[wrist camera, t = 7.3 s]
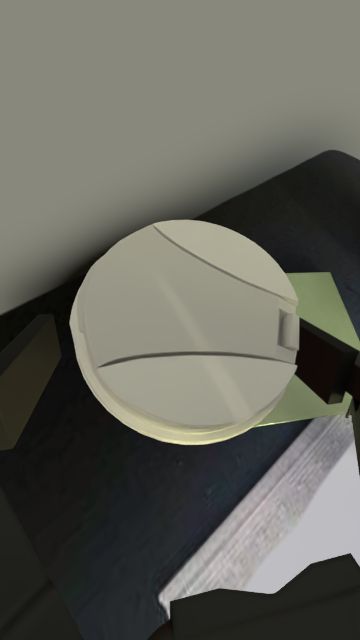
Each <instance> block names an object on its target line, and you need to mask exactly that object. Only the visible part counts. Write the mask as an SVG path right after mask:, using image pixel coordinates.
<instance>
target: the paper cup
mask: <svg viewBox="0 0 360 640" xmlns="http://www.w3.org/2000/svg"><path fill="white" fill-rule="evenodd" d="M298 301H299V300H298V298H297V295H296V293H295V290H294V288H293V286H292V284H291V283H290V281H289V279H288V277H287V276H286V274H285V273H284V272H283V270H282V269H281V268H280V266H279V265H278V264H277V263H276V261H275V260H274V259H273V258H272V257H271V256H270V255H269V254H268V253H267V252H265V251H264V250H263V249H262V248H261V247H259V246H258V245H257V244H256V243H254V242H252V241H251V240H249V239H248V238H246V237H245V236H243V235H241V234H239V233H237V232H235V231H233V230H230V229H228V228H225V227H222V226H219V225H216V224H212V223H207V222H203V221H194V220H171V221H164V222H158V223H154V224H153V225H149V226H147V227H145V228H143V229H141V230H139V231H137V232H135V233H133V234H131V235H129V236H128V237H126V238H124V239H122V240H120V241H119V242H118V243H117V244H116V245H114V246H113V247H112V248H111V249H110V250H109V251H108V252H107V253H106V254H105V255H104V256H103V257H101V258H100V259H99V260H98V261H97V262H95V264H94V265H93V266H92V267H91V268H90V270H89V272H88V273H87V275H86V277H85V279H84V281H83V283H82V285H81V287H80V289H79V290H78V293H77V296H76V298H75V301H74V304H73V307H72V312H71V317H70V327H71V331H72V336H73V340H74V345H75V351H76V356H77V361H78V363H79V366H80V369H81V371H82V374H83V377H84V379H85V380H86V382H87V384H88V385H89V387H90V389H91V391H92V392H93V394H94V395H95V397H96V398H97V399H98V400H99V401H100V402H101V404H102V405H103V406H104V407H105V408H106V409H107V410H108V411H109V412H110V413H111V414H112V415H114V416H115V417H116V418H117V419H119V420H120V421H121V422H122V423H123V424H125V425H127V426H129V427H130V428H132V429H134V430H136V431H137V432H139V433H141V434H143V435H146V436H149V437H152V438H154V439H157V440H160V441H163V442H169V443H176V444H182V445H202V444H210V443H215V442H219V441H224V440H227V439H230V438H232V437H235V436H237V435H239V434H242V433H244V432H246V431H247V430H249V429H250V428H252V427H253V426H255V425H256V424H258V423H259V422H260V421H262V420H263V419H264V418H265V417H266V416H267V415H268V414H269V413H270V412H271V411H272V410H273V409H274V407H275V406H276V405H277V403H278V402H279V400H280V399H281V398H282V396H283V394H284V392H285V390H286V388H287V386H288V384H289V383H290V381H291V379H292V377H293V375H294V373H295V371H296V369H297V365H295V359H296V354H297V350H299V316H297V315H296V306H297V305H298V304H299V302H298Z"/></svg>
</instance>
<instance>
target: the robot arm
mask: <svg viewBox="0 0 360 640" xmlns="http://www.w3.org/2000/svg"><path fill="white" fill-rule="evenodd" d="M60 358H61V351H60V346H59V341H58V337H57V332H56V327H55V322H54V317H53V314H45V315H38V316H37V317H36V318H35V319H34V320H33V321H32V322H31V323H30V324H29V325H28V326H27V327H26V328H25V329H24V330H23V331H22V332H21V333H20V334H19V335H18V336H17V337H16V338H15V339H14V340H13V341H12V342H11V343H10V344H9V345H8V346H7V347H6V348H5V349H4V350H3V351H2V352H1V353H0V450H7V449H13V448H14V446H15V444H16V442H17V440H18V438H19V436H20V434H21V432H22V430H23V428H24V427H25V425H26V423H27V421H28V419H29V417H30V415H31V413H32V411H33V409H34V407H35V406H36V404H37V402H38V400H39V398H40V396H41V394H42V392H43V390H44V388H45V386H46V385H47V383H48V381H49V379H50V377H51V375H52V373H53V371H54V369H55V367H56V365H57V364H58V362H59V360H60ZM295 365H297V369H296V371H295V373H294V374H295V375H296V376H297V377H298V378H299V379H300V380H301V381H302V382H303V383H305V384H306V385H307V386H308V387H309V388H310V389H311V390H312V391H313V392H314V393H315V394H316V395H317V396H319V397H320V398H321V399H322V400H323V401H324V402H325V403H326V404H327V405H330V404H337V403H342V401H343V398H344V395H345V392H347V393H348V394H350V395H351V396H352V399H351V402H350V405H349V408H348V411H347V414H346V418H349V415H351V416H352V423H353V430H354V438H355V445H356V452H357V460H358V466H359V474H360V351H359V350H357V349H355V348H354V347H352V346H350V345H348V344H346V343H345V342H343V341H341V340H339V339H338V338H336V337H334V336H332V335H330V334H329V333H327V332H325V331H323V330H322V329H320V328H318V327H316V326H314V325H313V324H311V323H309V322H307V321H306V320H304V319H302V318H300V317H299V350H297V354H296V359H295ZM0 640H84V639H83V637H82V635H81V634H80V632H79V630H78V628H77V626H76V624H75V622H74V620H73V618H72V617H71V615H70V613H69V611H68V609H67V607H66V605H65V603H64V601H63V599H62V598H61V596H60V594H59V592H58V590H57V588H56V587H55V585H54V584H53V582H52V581H50V579H49V578H48V576H47V574H46V572H45V570H44V568H43V567H42V565H41V563H40V561H39V559H38V557H37V555H36V553H35V551H34V549H33V547H32V545H31V543H30V541H29V540H28V538H27V536H26V534H25V532H24V530H23V528H22V526H21V524H20V522H19V520H18V518H17V516H16V515H15V513H14V511H13V509H12V507H11V505H10V503H9V501H8V499H7V497H6V495H5V493H4V491H3V489H2V488H1V486H0ZM147 640H360V567H359V565H358V564H357V562H356V561H355V559H354V558H353V556H352V555H351V553H350V554H346V555H342V556H338V557H335V558H331V559H327V560H324V561H320V562H316V563H312V564H310V565H309V566H308V567H307V568H306V569H304V570H303V571H302V572H301V573H299V574H298V575H297V576H296V577H295V578H293V579H292V580H291V581H290V582H288V583H287V584H286V585H285V586H284V587H282V588H281V589H280V590H279V591H277V592H276V593H274V594H265V593H255V592H247V591H238V590H229V589H220V588H219V589H215V590H211V591H208V592H204V593H200V594H196V595H193V596H189V597H185V598H182V599H178V600H174V601H170V620H168V621H167V622H166V623H164V624H163V625H162V626H160V627H159V628H158V629H157V630H156V631H155V632H154V633H153V634H152V635H151V636H150V637H149V638H148V639H147Z"/></svg>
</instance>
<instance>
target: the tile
mask: <svg viewBox="0 0 360 640" xmlns="http://www.w3.org/2000/svg"><path fill="white" fill-rule="evenodd" d="M285 274H286V276H287V277H288V279H289V281H290V283H291V284H292V286H293V288H294V290H295V293H296V295H297V298H298V300H299V301H298V302H299V304H298V305H297V306H296V315H297V316H299V317H300V318H302V319H304V320H306V321H307V322H309V323H311V324H313V325H314V326H316V327H318V328H320V329H322V330H323V331H325V332H327V333H329V334H330V335H332V336H334V337H336V338H338V339H339V340H341V341H343V342H345V343H346V344H348V345H350V346H352V347H354V348H355V349H357V350H359V351H360V341H359V339H358V336H357V334H356V332H355V329H354V327H353V325H352V322H351V320H350V318H349V315H348V313H347V311H346V309H345V306H344V304H343V302H342V299H341V297H340V295H339V292H338V290H337V288H336V285H335V283H334V281H333V278H332V276H331V274H330V272H314V273H285ZM351 399H352V396H351V395H350V394H348V393H347V392H345V395H344V398H343V401H342V403H337V404H330V405H327V404H326V403H325V402H324V401H323V400H322V399H321V398H320V397H319V396H317V395H316V394H315V393H314V392H313V391H312V390H311V389H310V388H309V387H308V386H307V385H306V384H305V383H303V382H302V381H301V380H300V379H299V378H298V377H297V376H296V375H295V374H294V375H293V377H292V379H291V381H290V383H289V384H288V386H287V388H286V390H285V392H284V394H283V396H282V398H281V399H280V400H279V402H278V403H277V405H276V406H275V407H274V409H273V410H272V411H271V412H270V413H269V414H268V415H267V416H266V417H265V418H264V419H263V420H262V421H260V422H259V423H258V424H256V425H255V426H253V427H258V426H265V425H271V424H278V423H285V422H291V421H298V420H304V419H311V418H318V417H324V416H331V415H338V414H344V413H347V411H348V408H349V405H350V402H351Z"/></svg>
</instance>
